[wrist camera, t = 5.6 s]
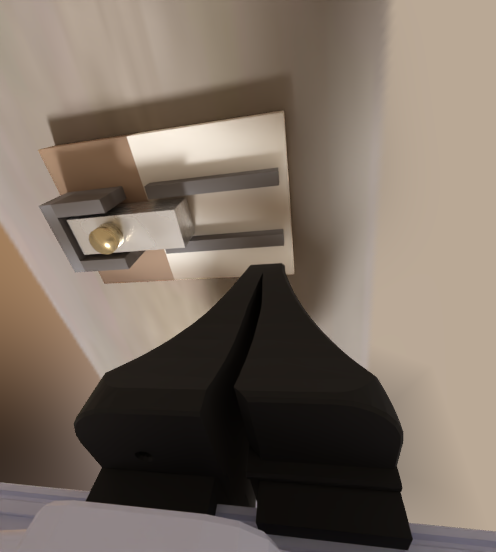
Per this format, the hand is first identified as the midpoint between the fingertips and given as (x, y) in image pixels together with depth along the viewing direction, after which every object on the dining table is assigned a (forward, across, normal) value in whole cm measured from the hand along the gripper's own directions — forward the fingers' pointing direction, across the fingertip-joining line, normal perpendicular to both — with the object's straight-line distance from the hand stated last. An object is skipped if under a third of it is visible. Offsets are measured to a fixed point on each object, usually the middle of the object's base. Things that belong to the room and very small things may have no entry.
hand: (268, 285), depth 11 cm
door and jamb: (+9, +7, 0) cm, 12 cm away
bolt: (+8, +9, 0) cm, 12 cm away
